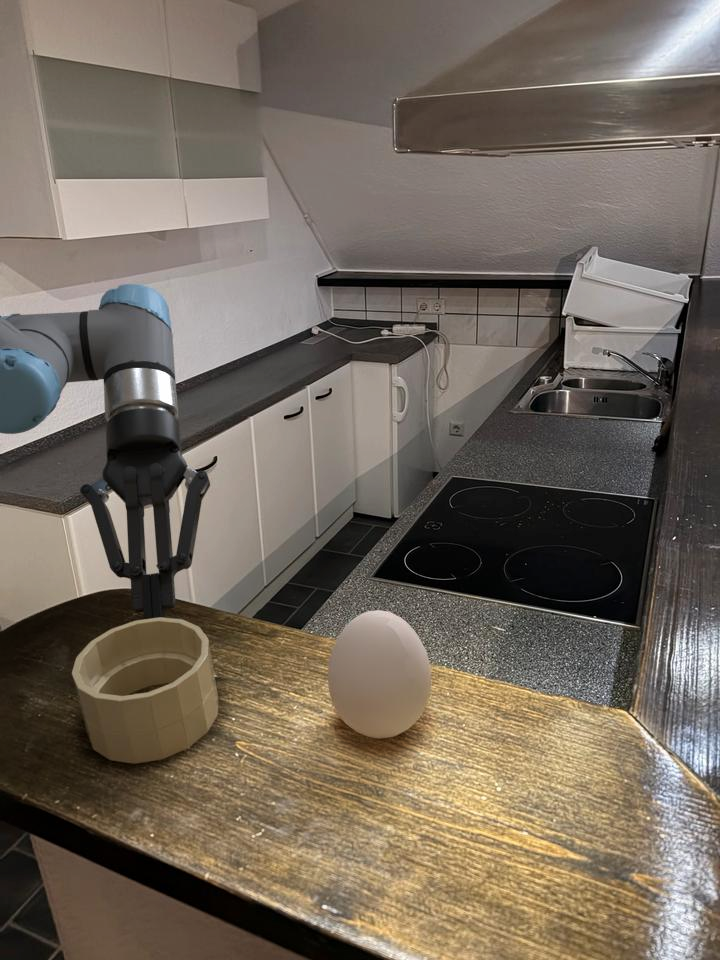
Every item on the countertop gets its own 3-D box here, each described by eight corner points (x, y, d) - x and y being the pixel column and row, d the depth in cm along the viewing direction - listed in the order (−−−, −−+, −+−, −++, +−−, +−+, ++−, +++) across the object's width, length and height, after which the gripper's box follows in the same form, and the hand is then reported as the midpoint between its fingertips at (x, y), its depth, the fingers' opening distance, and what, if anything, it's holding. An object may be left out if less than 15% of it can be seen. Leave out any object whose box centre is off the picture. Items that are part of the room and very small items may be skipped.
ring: (80, 781, 62) (60, 709, 59) (101, 692, 72) (85, 626, 69) (218, 760, 63) (206, 688, 60) (220, 675, 74) (209, 610, 71)
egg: (395, 681, 71) (390, 576, 67) (453, 735, 65) (452, 622, 60) (314, 718, 67) (303, 609, 63) (366, 780, 61) (358, 663, 56)
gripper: (209, 429, 85) (229, 640, 77) (88, 443, 83) (95, 659, 75) (200, 398, 78) (222, 626, 70) (68, 412, 76) (74, 647, 68)
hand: (156, 643), depth 72 cm, fingers closed
